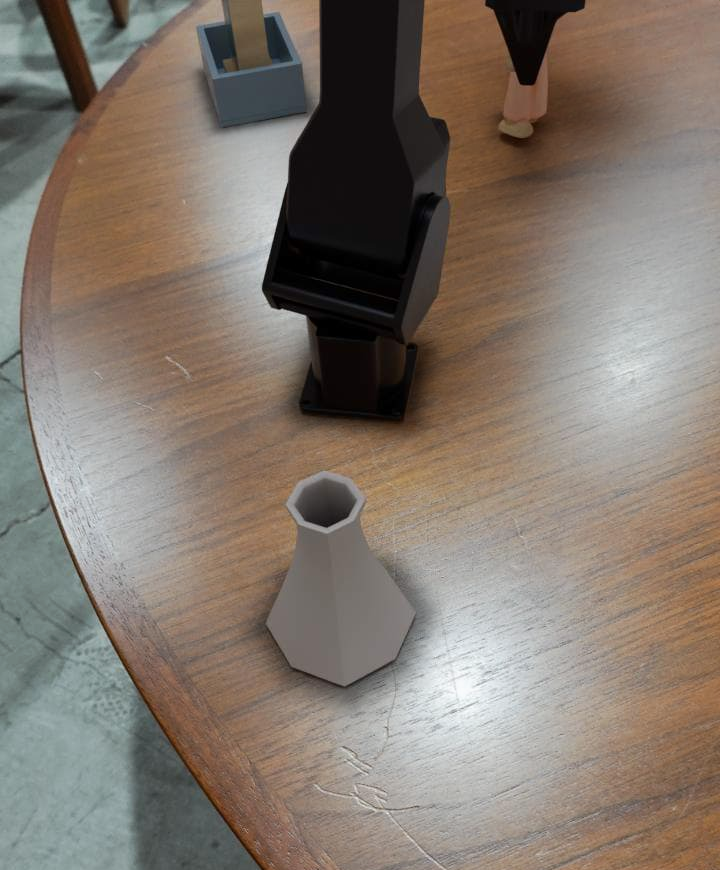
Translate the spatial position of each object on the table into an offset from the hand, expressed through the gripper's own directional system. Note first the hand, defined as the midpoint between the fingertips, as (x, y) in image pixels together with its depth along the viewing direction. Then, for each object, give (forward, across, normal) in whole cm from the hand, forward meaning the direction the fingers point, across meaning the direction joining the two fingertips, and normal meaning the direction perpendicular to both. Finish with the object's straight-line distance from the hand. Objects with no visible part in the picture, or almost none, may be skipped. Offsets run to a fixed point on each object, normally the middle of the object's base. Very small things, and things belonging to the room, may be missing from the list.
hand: (530, 57), depth 67 cm
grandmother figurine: (+5, 0, 0) cm, 5 cm away
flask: (+6, -47, +6) cm, 48 cm away
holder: (+5, +3, +23) cm, 24 cm away
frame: (+5, +3, +23) cm, 24 cm away
